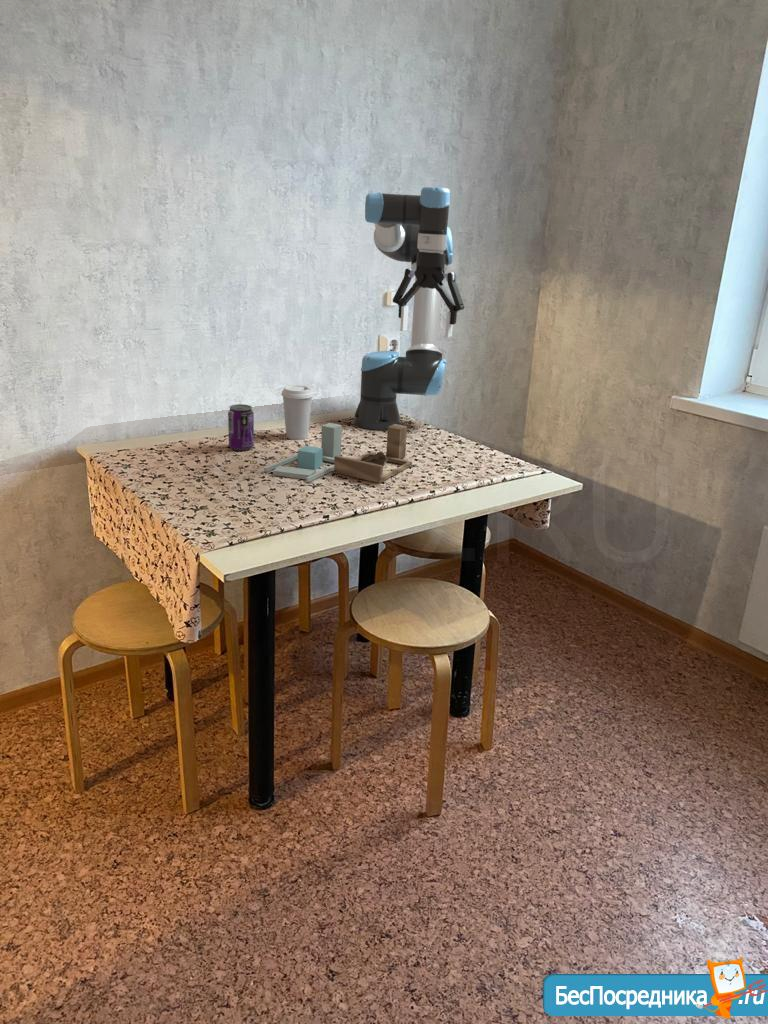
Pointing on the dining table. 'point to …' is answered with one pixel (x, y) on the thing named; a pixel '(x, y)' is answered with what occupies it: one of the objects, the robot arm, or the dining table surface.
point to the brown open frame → (371, 470)
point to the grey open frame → (330, 449)
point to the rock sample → (375, 458)
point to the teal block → (310, 458)
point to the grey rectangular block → (293, 472)
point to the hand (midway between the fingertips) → (425, 333)
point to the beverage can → (241, 427)
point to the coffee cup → (297, 410)
